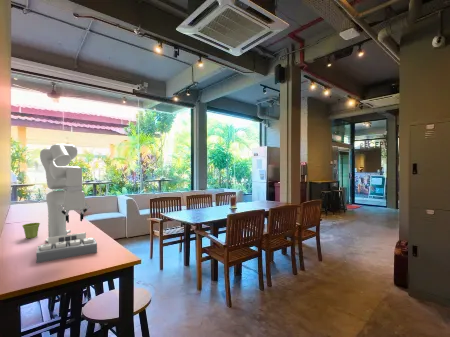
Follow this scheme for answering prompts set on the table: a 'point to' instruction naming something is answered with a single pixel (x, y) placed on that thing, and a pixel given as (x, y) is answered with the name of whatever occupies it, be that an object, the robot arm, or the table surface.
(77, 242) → the key
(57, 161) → the robot arm
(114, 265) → the table surface
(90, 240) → the key
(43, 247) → the key
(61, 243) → the key
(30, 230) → the plant pot
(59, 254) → the keyboard
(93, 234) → the table surface
